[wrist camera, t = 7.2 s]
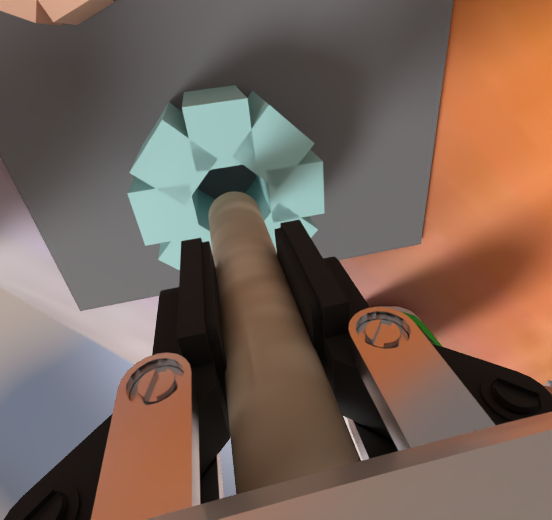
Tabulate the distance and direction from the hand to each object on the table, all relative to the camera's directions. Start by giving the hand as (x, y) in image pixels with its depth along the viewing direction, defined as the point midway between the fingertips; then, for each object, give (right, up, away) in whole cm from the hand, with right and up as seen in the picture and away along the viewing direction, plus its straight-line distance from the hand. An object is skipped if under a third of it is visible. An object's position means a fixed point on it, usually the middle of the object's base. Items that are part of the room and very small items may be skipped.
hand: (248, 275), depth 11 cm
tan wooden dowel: (-1, +2, +3) cm, 4 cm away
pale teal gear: (-2, +5, +8) cm, 10 cm away
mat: (-1, +8, +7) cm, 11 cm away
